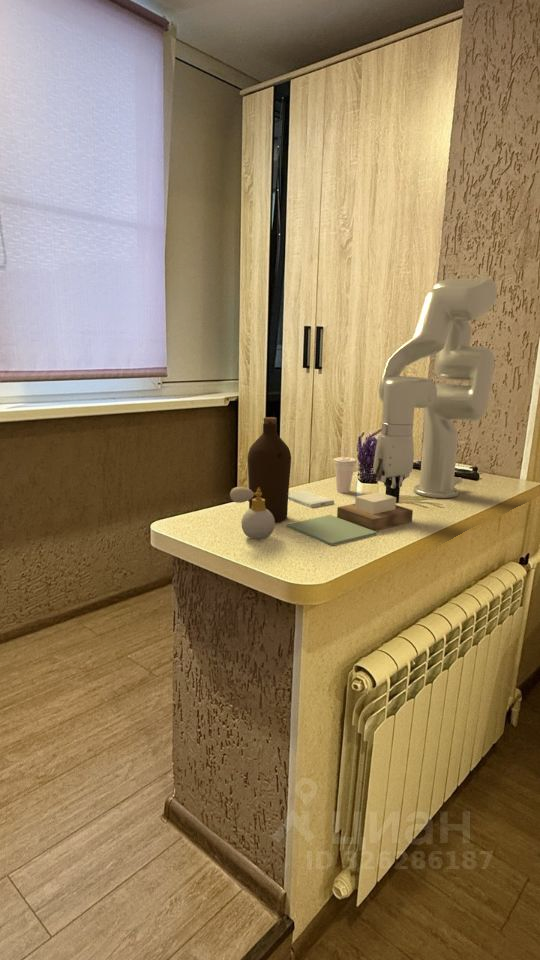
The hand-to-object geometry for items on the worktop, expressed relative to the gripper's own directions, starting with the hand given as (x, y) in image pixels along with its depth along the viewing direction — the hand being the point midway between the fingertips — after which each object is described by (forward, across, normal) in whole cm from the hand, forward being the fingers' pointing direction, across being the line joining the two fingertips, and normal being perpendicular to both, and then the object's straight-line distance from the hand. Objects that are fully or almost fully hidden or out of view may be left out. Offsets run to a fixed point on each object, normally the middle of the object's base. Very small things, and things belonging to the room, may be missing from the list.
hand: (391, 502), depth 151 cm
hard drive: (+5, +8, -23) cm, 25 cm away
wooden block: (+4, +6, 0) cm, 7 cm away
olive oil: (+4, +27, -16) cm, 32 cm away
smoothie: (+4, -7, -25) cm, 26 cm away
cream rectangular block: (+1, +6, 0) cm, 6 cm away
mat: (+4, +20, 0) cm, 21 cm away
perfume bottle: (+4, +39, -5) cm, 39 cm away
